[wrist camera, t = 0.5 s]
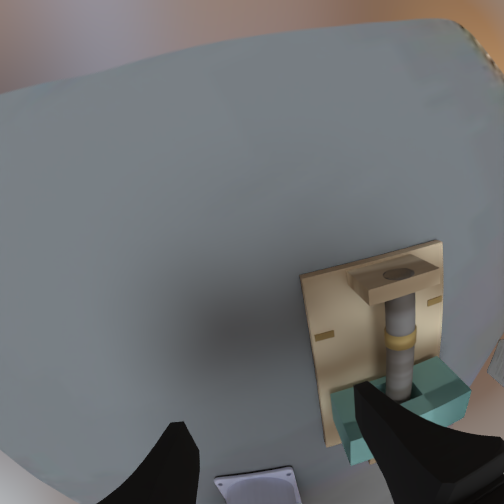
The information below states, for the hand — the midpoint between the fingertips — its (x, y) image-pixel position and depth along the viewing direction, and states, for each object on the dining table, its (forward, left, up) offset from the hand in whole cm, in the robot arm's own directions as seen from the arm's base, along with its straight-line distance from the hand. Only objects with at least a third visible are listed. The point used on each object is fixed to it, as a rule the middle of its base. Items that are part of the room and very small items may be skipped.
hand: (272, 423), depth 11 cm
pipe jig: (-6, -9, -10) cm, 15 cm away
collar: (-8, -9, -9) cm, 15 cm away
